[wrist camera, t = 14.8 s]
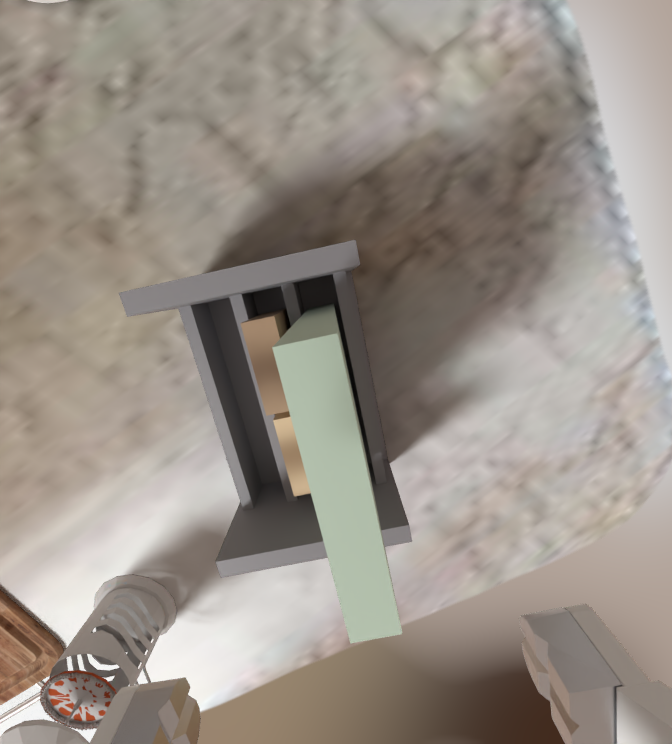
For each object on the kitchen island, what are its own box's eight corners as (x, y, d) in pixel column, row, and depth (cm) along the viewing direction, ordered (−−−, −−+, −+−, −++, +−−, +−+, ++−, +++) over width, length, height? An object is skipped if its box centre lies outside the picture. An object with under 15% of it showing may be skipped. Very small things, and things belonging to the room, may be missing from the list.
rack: (190, 289, 33) (118, 292, 22) (347, 254, 32) (355, 239, 21) (253, 491, 38) (220, 577, 27) (388, 465, 38) (412, 541, 26)
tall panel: (308, 308, 32) (272, 347, 13) (333, 303, 32) (337, 333, 12) (339, 445, 35) (350, 643, 16) (363, 441, 35) (402, 633, 16)
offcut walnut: (262, 313, 32) (240, 323, 24) (287, 308, 32) (274, 315, 24) (281, 385, 34) (266, 415, 26) (305, 380, 34) (297, 409, 26)
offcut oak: (283, 395, 34) (273, 420, 28) (307, 389, 34) (302, 414, 28) (300, 458, 36) (294, 496, 29) (323, 454, 36) (322, 490, 29)
